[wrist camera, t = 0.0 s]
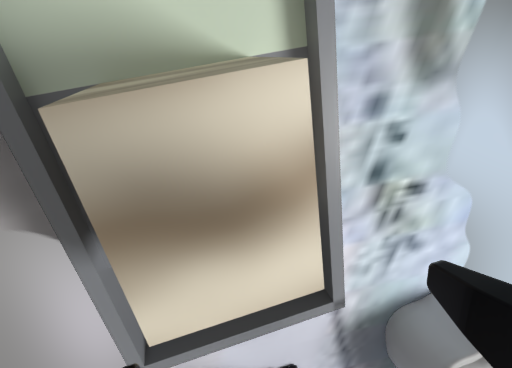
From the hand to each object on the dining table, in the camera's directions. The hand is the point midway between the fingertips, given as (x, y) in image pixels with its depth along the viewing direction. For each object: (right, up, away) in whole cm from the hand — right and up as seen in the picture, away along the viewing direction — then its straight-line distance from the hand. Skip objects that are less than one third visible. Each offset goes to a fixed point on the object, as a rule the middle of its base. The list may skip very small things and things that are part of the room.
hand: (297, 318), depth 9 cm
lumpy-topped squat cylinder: (+20, -15, +29) cm, 38 cm away
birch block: (-5, +6, +9) cm, 12 cm away
